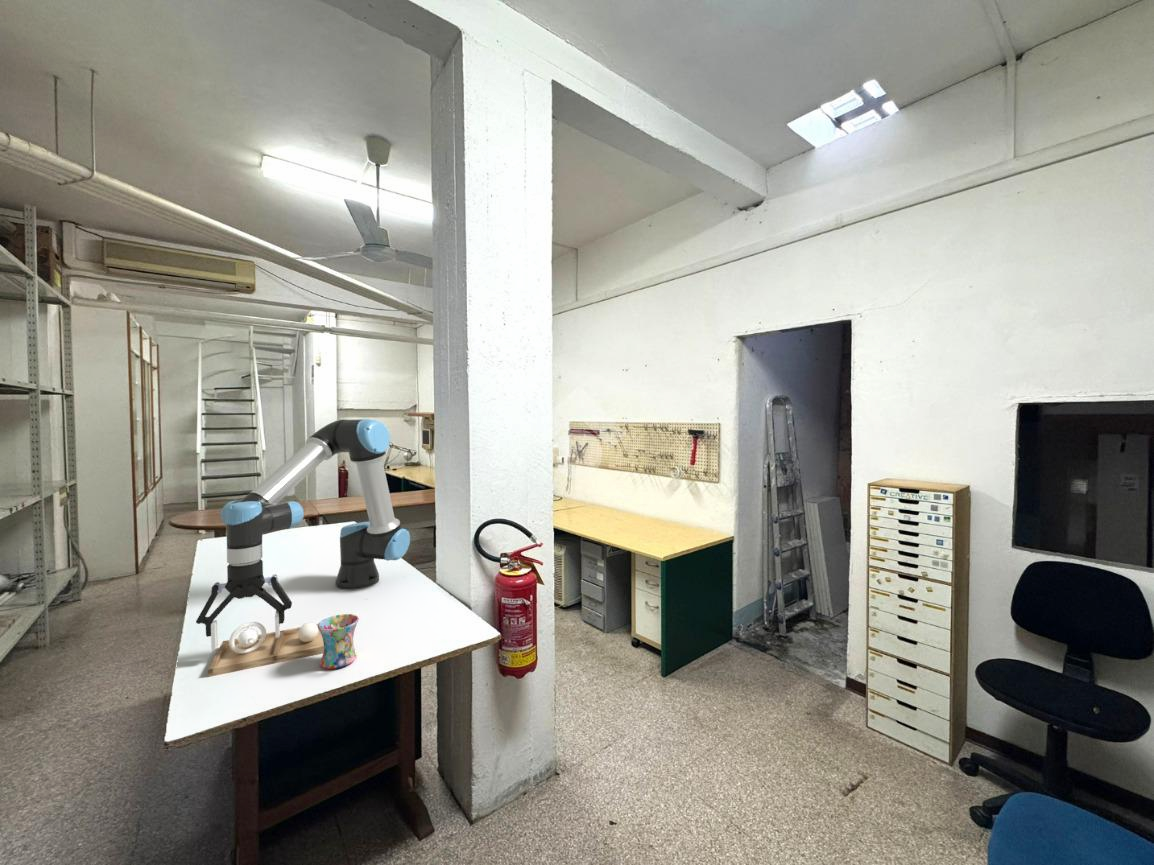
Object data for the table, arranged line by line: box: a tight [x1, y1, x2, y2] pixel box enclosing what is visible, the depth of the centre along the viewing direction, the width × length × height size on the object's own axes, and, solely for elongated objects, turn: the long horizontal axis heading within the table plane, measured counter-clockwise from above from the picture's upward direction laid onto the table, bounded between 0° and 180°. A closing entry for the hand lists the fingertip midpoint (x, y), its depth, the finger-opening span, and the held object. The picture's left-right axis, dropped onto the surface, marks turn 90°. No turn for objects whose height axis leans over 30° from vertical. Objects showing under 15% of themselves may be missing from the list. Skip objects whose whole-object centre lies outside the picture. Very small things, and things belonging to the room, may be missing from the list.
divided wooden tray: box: [207, 623, 324, 678], centre depth 123 cm, size 27×16×2 cm, turn 118°
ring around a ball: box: [228, 621, 267, 654], centre depth 119 cm, size 8×6×8 cm
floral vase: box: [317, 613, 359, 670], centre depth 115 cm, size 12×9×11 cm
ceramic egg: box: [298, 622, 319, 642], centre depth 126 cm, size 5×5×5 cm
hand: (247, 641), depth 119 cm, fingers open, 13 cm apart
